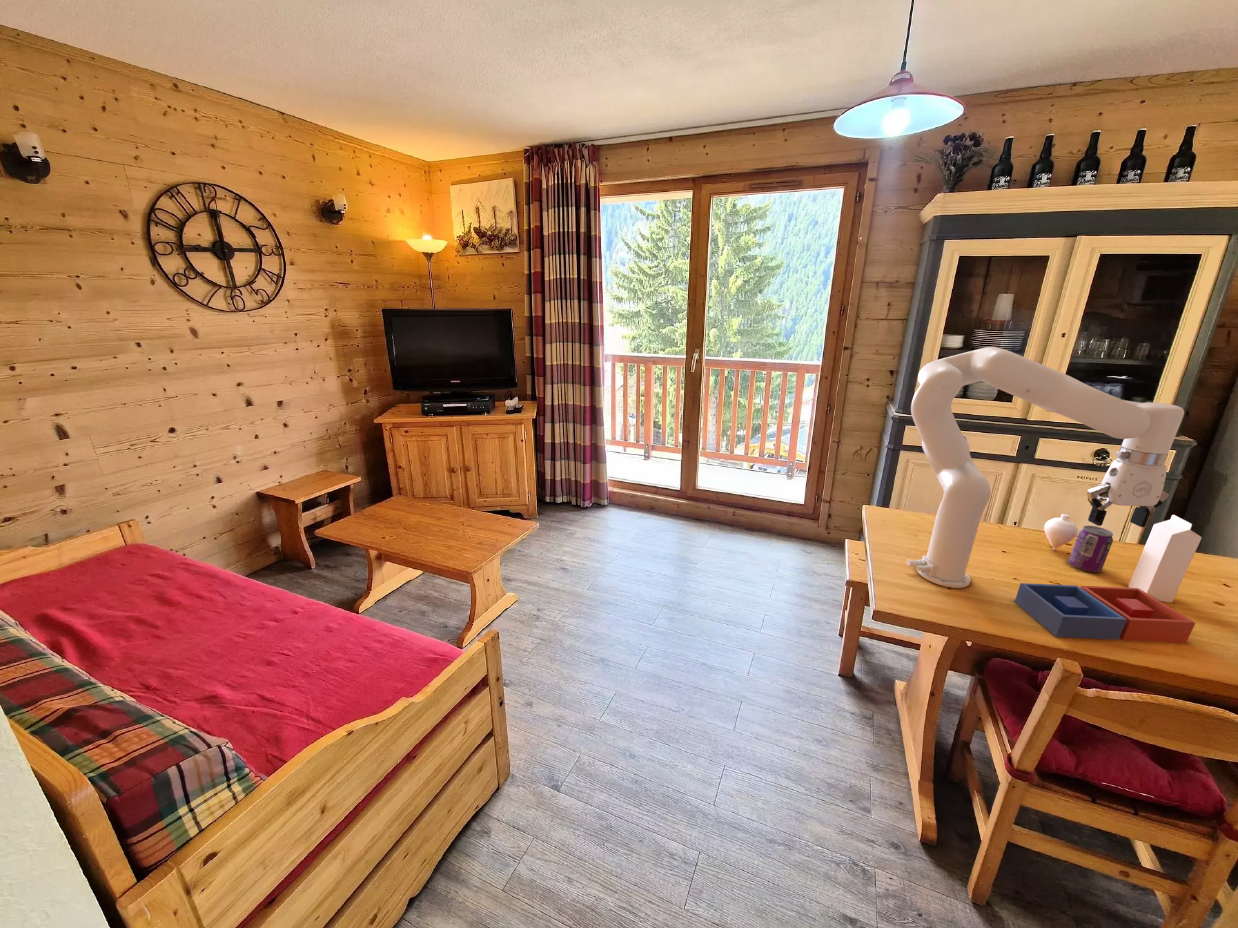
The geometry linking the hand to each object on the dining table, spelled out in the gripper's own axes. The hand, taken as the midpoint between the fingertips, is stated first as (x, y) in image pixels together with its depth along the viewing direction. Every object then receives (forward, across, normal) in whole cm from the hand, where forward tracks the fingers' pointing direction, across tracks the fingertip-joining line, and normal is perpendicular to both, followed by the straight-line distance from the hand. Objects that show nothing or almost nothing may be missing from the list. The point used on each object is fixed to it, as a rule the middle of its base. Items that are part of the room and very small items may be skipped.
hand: (1115, 524), depth 117 cm
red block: (+22, +3, -8) cm, 23 cm away
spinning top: (+22, +13, +28) cm, 38 cm away
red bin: (+22, +3, -8) cm, 24 cm away
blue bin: (+22, -12, -8) cm, 26 cm away
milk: (+22, +20, +5) cm, 31 cm away
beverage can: (+22, +14, +18) cm, 32 cm away
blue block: (+22, -11, -8) cm, 26 cm away
